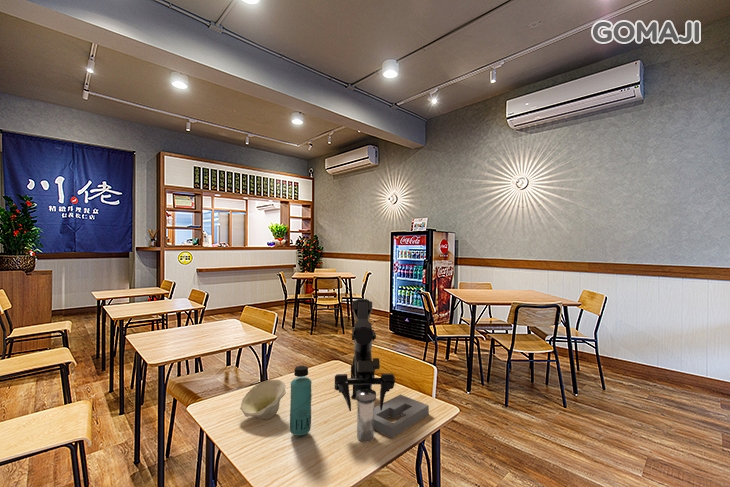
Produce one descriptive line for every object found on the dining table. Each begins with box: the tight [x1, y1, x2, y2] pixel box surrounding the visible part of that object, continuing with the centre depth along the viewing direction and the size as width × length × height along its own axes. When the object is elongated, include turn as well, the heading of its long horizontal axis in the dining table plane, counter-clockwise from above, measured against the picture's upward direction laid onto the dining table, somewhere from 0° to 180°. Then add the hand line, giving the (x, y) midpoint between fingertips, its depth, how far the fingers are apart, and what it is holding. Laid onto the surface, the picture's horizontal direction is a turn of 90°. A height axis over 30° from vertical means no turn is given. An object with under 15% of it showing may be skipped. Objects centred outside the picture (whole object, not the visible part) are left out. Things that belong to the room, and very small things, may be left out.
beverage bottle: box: [289, 365, 313, 436], centre depth 99 cm, size 6×7×20 cm
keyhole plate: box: [374, 394, 430, 439], centre depth 109 cm, size 20×12×3 cm, turn 137°
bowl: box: [239, 379, 287, 420], centre depth 109 cm, size 15×14×10 cm
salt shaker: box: [355, 388, 377, 443], centre depth 98 cm, size 6×6×13 cm
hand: (365, 410), depth 98 cm, fingers open, 9 cm apart
